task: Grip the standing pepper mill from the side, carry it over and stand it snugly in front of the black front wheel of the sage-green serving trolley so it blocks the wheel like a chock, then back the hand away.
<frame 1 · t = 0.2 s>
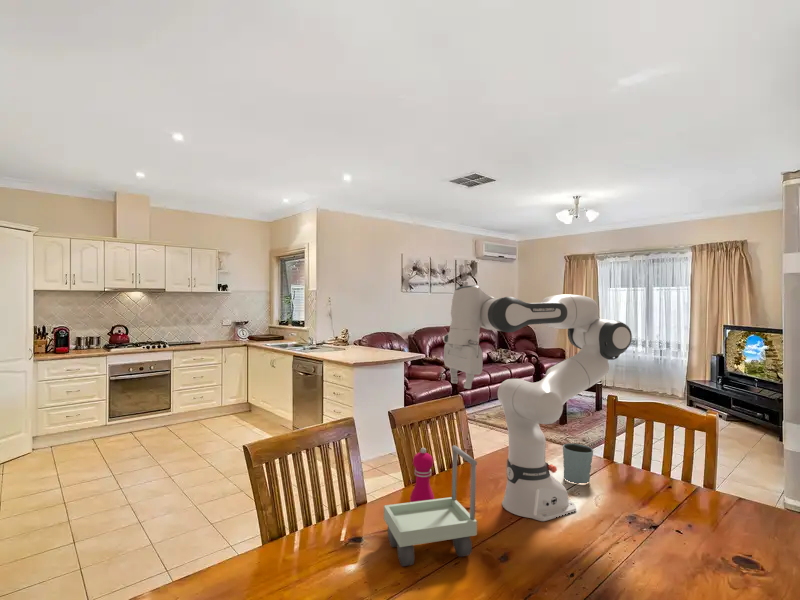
hand: (460, 385, 132), 39 cm above the table, tool pointing down, fingers open, 8 cm apart
serving trolley: (428, 550, 114), on the table
pepper mill: (421, 515, 133), on the table
grey cup: (577, 481, 160), on the table
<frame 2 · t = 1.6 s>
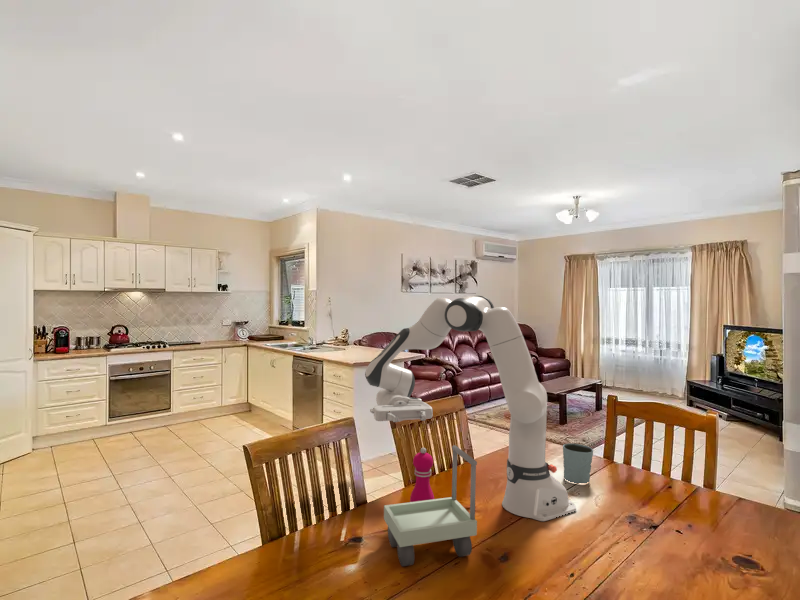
hand: (410, 418, 144), 25 cm above the table, tool horizontal, fingers open, 8 cm apart
nothing on the table moved.
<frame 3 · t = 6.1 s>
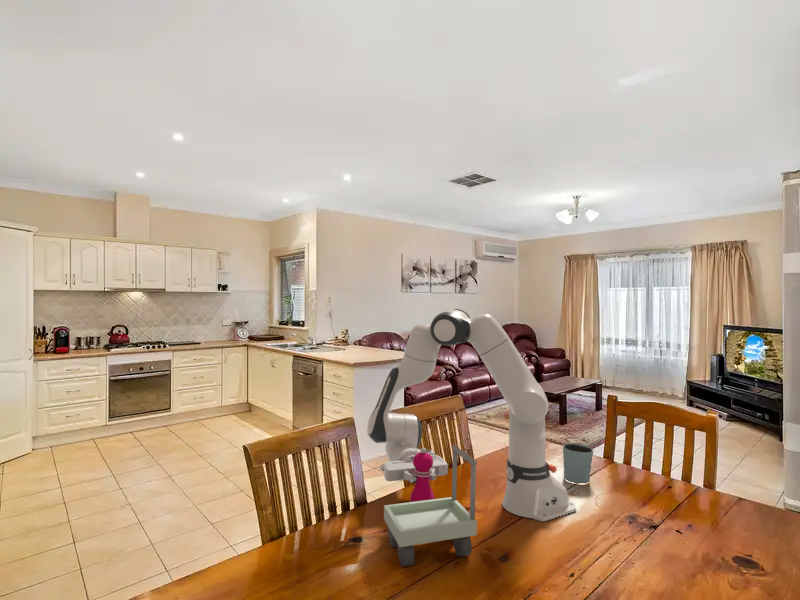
hand: (423, 478, 132), 11 cm above the table, tool horizontal, fingers closed on pepper mill, 5 cm apart
pepper mill: (421, 515, 133), on the table, touching gripper
everything else where it was.
when the fingers open (12 cm above the table, at t = 11.6 s): pepper mill moves 3 cm, on the table.
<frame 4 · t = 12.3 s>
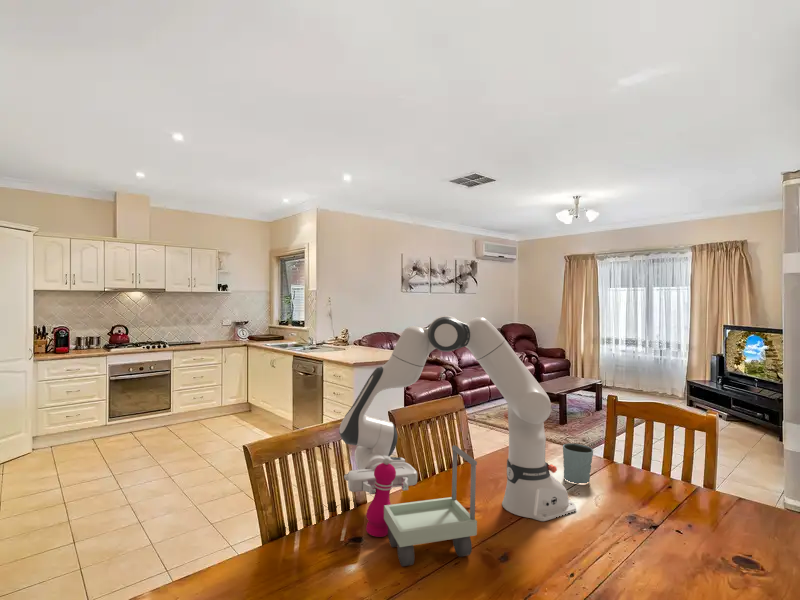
hand: (389, 489, 122), 12 cm above the table, tool horizontal, fingers open, 8 cm apart
pepper mill: (377, 532, 122), on the table, touching gripper
everything else where it was.
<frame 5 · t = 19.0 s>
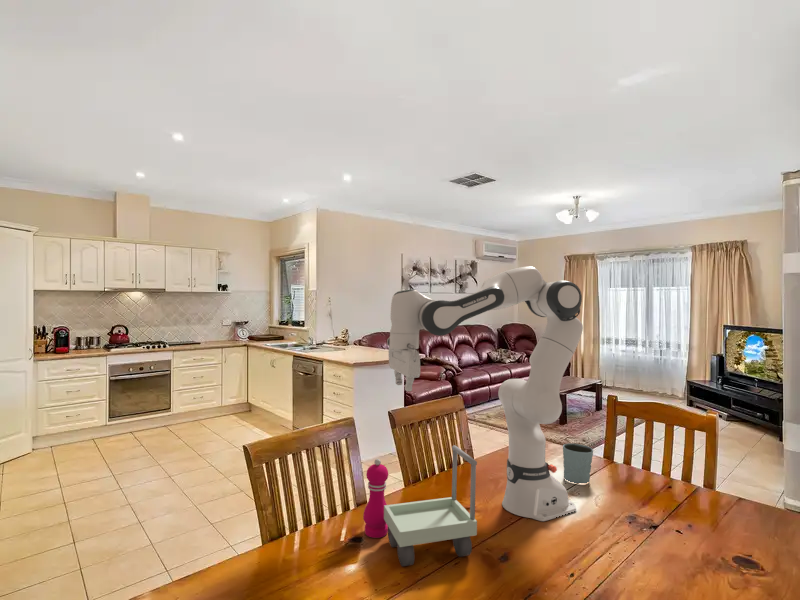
hand: (403, 387, 136), 37 cm above the table, tool pointing down, fingers open, 8 cm apart
pepper mill: (376, 533, 122), on the table
everything else where it was.
at the end: pepper mill 3.2 cm from the target spot, on the table; pepper mill tilted 1°; the gripper is holding nothing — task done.
